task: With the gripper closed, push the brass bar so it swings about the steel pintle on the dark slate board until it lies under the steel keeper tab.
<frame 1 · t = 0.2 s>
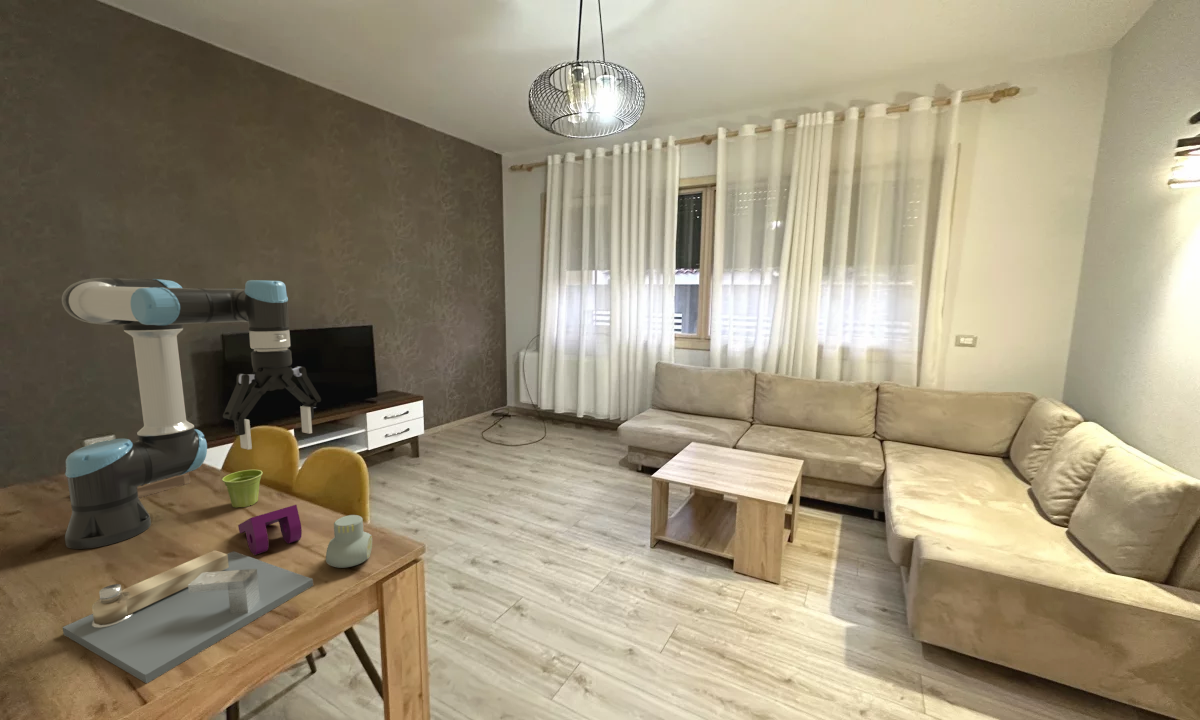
hand: (278, 440, 110), 28 cm above the table, fingers open, 13 cm apart
slate board: (198, 608, 93), on the table
beverage can: (135, 490, 148), resting in walnut can frame
pintle: (115, 625, 88), resting on slate board
mounting bracket: (268, 539, 120), on the table
brass bar: (164, 584, 94), point 4 cm above the table, hinge at 90.0°
walnut can frame: (136, 488, 148), on the table
air freshener: (350, 561, 110), on the table
steel keeper: (246, 613, 91), resting on slate board
plant pot: (245, 504, 139), on the table
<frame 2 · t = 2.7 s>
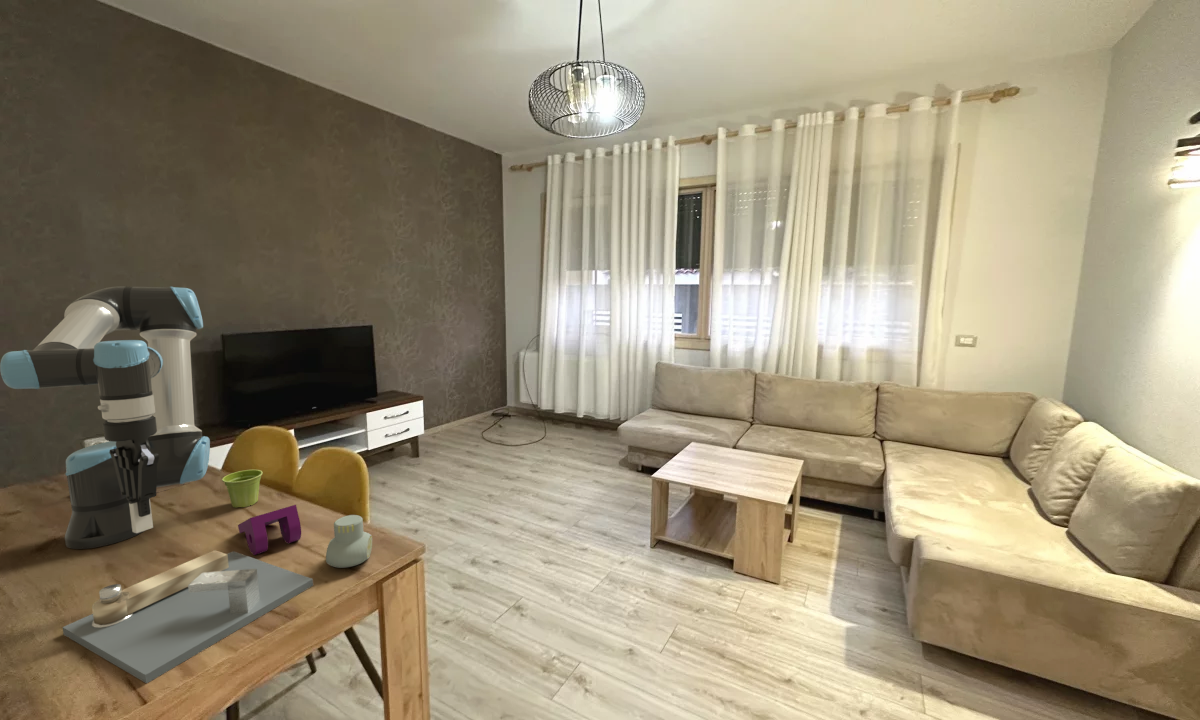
hand: (142, 529, 97), 13 cm above the table, fingers closed
beverage can: (128, 491, 147), resting in walnut can frame
everything else where it was.
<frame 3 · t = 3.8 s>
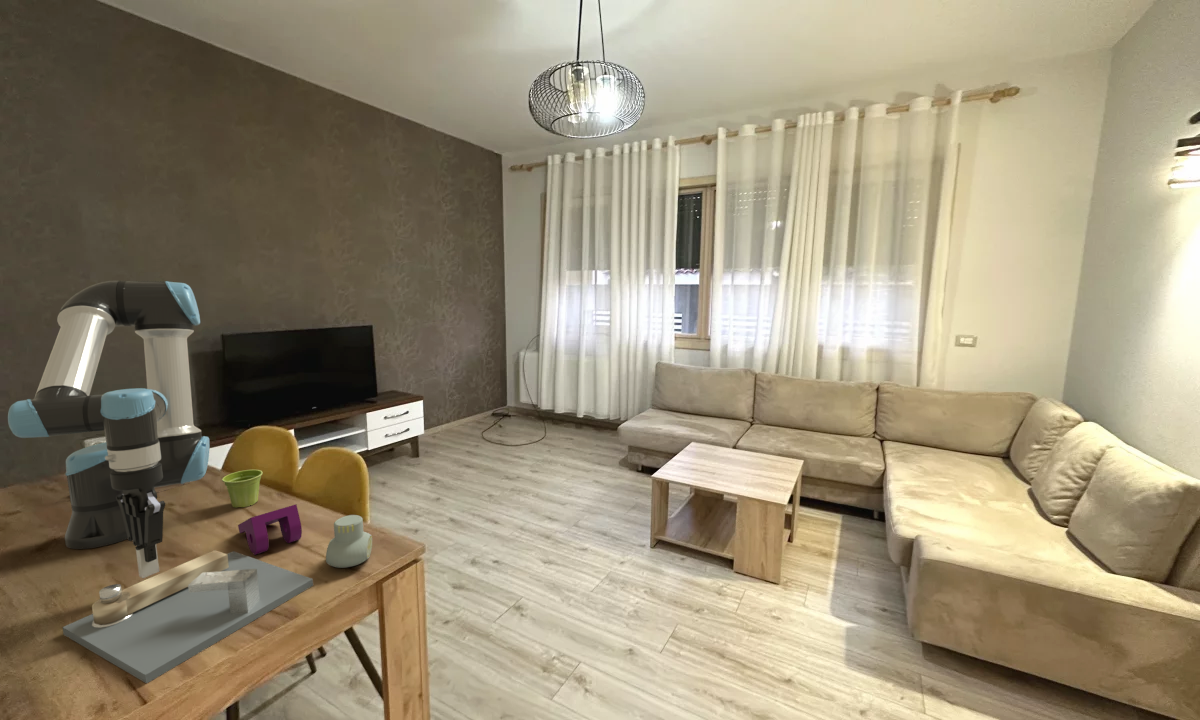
hand: (149, 573, 99), 3 cm above the table, fingers closed
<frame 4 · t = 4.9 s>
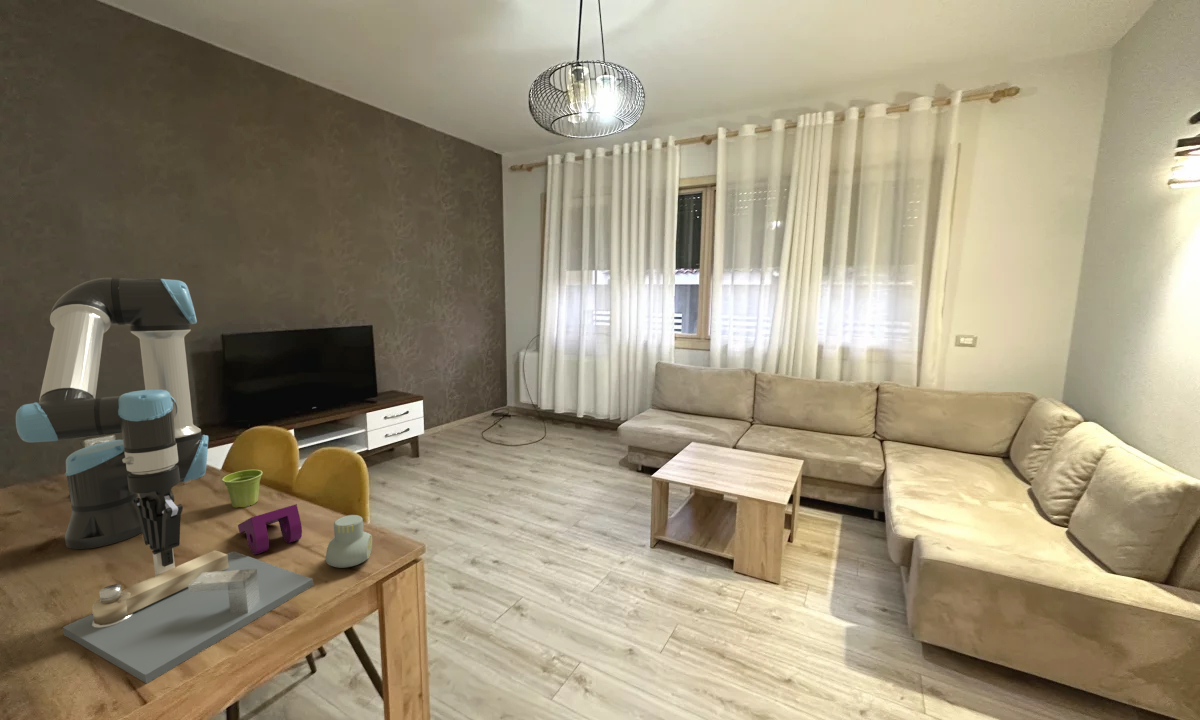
hand: (166, 578, 97), 3 cm above the table, fingers closed
brass bar: (164, 584, 94), point 4 cm above the table, hinge at 89.9°, touching gripper
everything else where it was.
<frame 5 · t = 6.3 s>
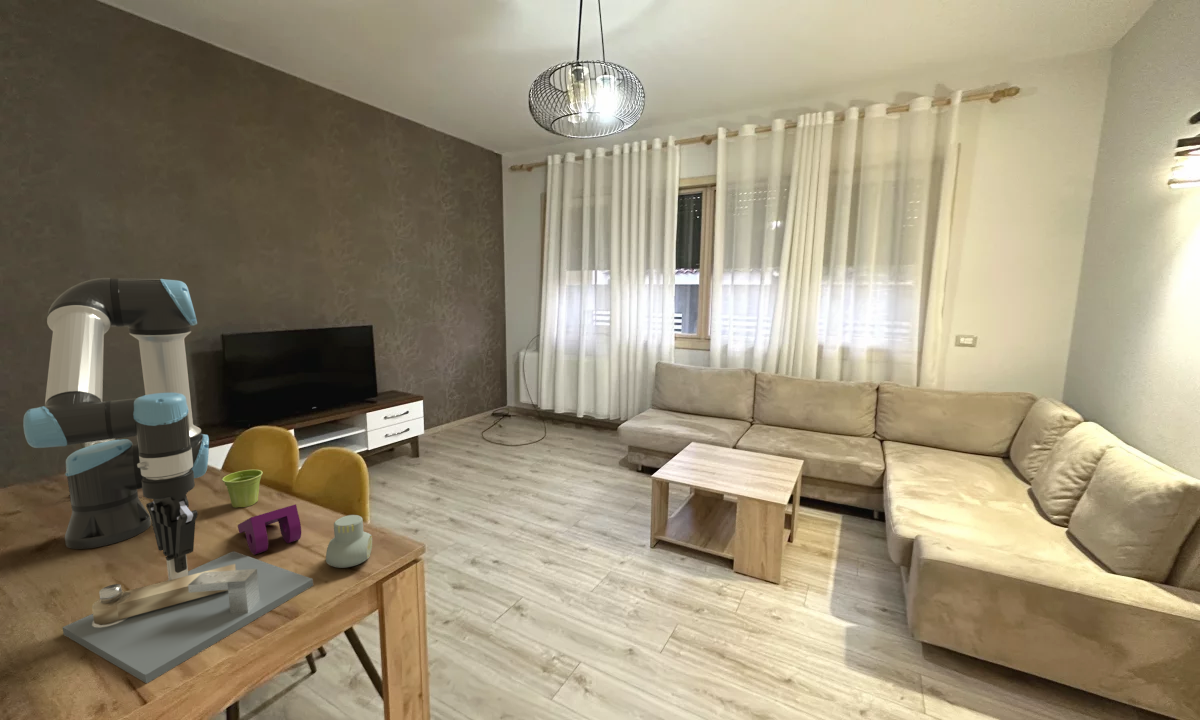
hand: (179, 584, 95), 3 cm above the table, fingers closed
brass bar: (168, 593, 92), point 4 cm above the table, hinge at 57.9°, touching gripper
everything else where it was.
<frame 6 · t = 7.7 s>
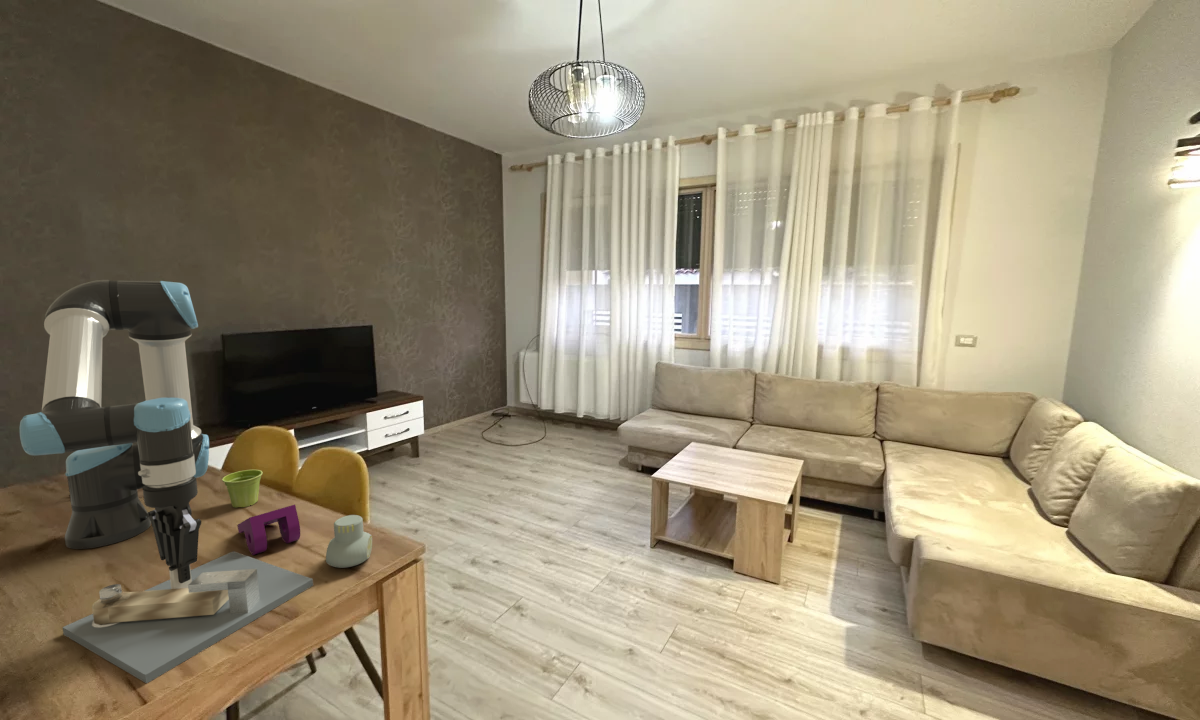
hand: (182, 595, 93), 3 cm above the table, fingers closed
brass bar: (160, 604, 88), point 4 cm above the table, hinge at 31.4°, touching gripper
everything else where it was.
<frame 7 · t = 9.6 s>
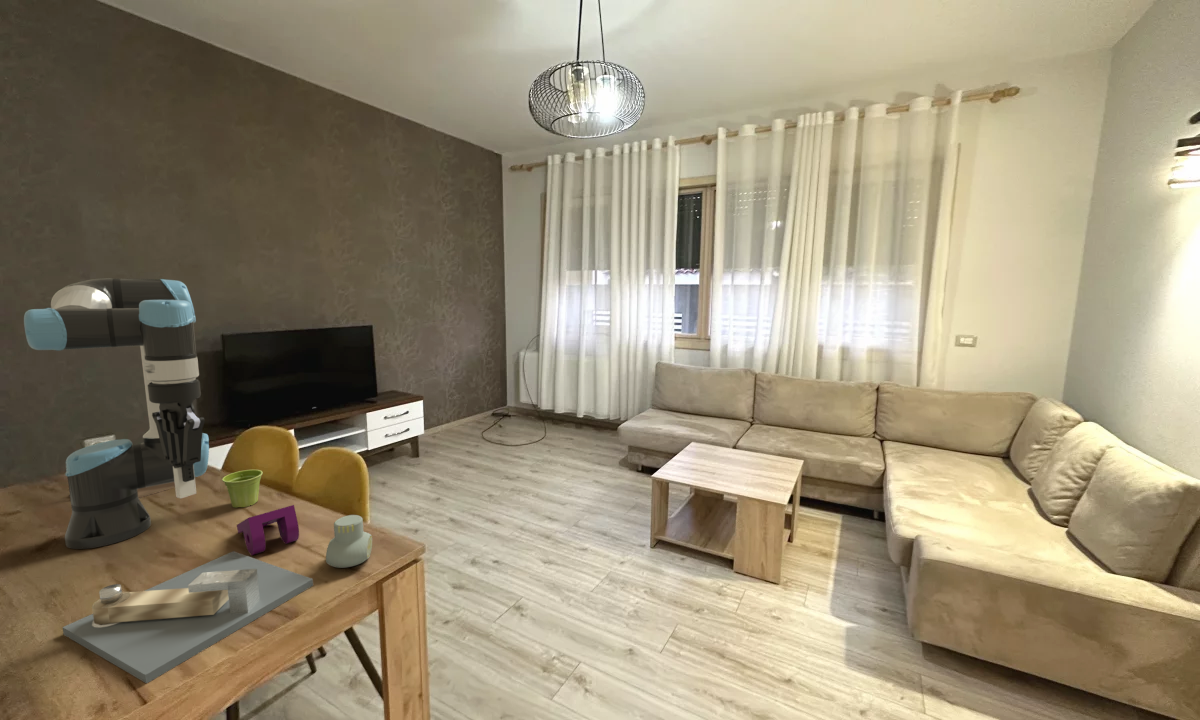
hand: (186, 495, 95), 21 cm above the table, fingers closed
brass bar: (159, 604, 88), point 4 cm above the table, hinge at 31.3°
everything else where it was.
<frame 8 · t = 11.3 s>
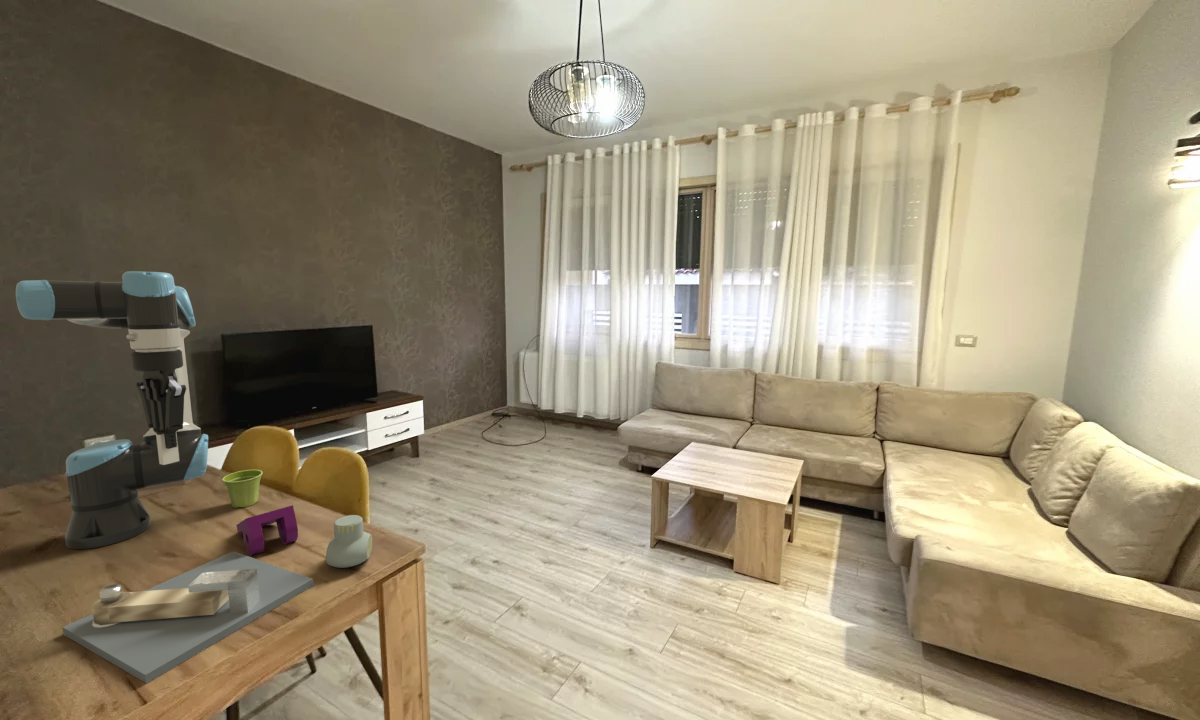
hand: (169, 462, 98), 26 cm above the table, fingers closed
at the end: brass bar at +31° (first picture: +90°) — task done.
